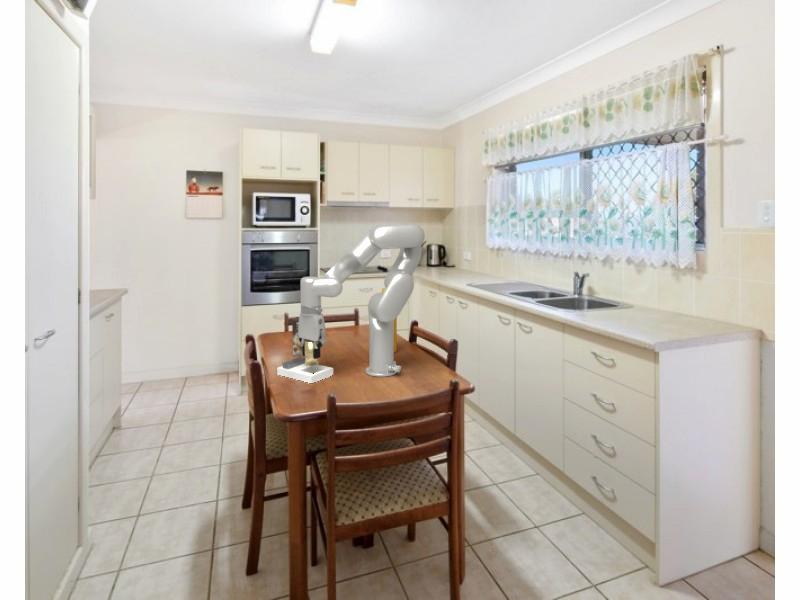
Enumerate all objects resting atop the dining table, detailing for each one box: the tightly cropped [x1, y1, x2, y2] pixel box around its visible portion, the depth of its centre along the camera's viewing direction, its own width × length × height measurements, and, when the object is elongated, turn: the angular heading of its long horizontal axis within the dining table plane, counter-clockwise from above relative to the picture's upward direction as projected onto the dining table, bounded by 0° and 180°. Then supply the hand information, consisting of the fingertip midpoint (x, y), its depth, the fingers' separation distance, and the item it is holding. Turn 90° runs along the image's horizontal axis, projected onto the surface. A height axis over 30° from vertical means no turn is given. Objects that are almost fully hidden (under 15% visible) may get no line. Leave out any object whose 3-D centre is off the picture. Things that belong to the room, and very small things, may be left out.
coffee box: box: [291, 316, 302, 356], centre depth 214 cm, size 9×6×16 cm
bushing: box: [304, 340, 319, 366], centre depth 183 cm, size 5×5×9 cm
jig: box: [276, 356, 334, 384], centre depth 186 cm, size 18×12×5 cm, turn 57°
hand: (311, 356), depth 183 cm, fingers closed on bushing, 5 cm apart
